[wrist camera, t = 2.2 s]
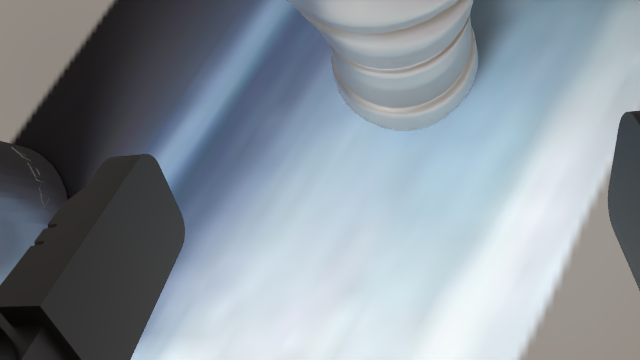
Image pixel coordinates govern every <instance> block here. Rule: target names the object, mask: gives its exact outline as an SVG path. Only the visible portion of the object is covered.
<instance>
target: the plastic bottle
mask: <svg viewBox="0 0 640 360" xmlns="http://www.w3.org/2000/svg"><path fill="white" fill-rule="evenodd" d="M287 1H288V2H289V3H290V4H291V5H292V6H293V7H294V8H295V9H297V10H298V11H299V12H300V13H301V14H302V15H303V16H304V17H305V18H306V19H307V20H308V21H310V22H311V23H312V24H313V25H314V26H315V27H316V28H317V29H318V30H319V32H320V33H321V35H322V36H323V37H324V39H325V40H326V42H327V43H328V44H329V47H330V50H331V53H332V56H331V60H332V67H333V73H334V78H335V82H336V85H337V88H338V90H339V93H340V94H341V96H342V98H343V99H344V101H345V102H346V104H347V105H348V106H349V107H350V108H351V109H352V110H353V111H354V112H355V113H356V114H358V115H359V116H360V117H362V118H363V119H365V120H366V121H369V122H371V123H373V124H376V125H378V126H380V127H383V128H386V129H391V130H396V131H411V130H417V129H422V128H425V127H428V126H431V125H434V124H435V123H437V122H439V121H441V120H442V119H444V118H446V117H447V116H448V115H449V114H450V113H451V112H453V111H454V110H455V109H456V108H457V107H458V106H459V105H460V104H461V103H462V101H463V100H464V99H465V97H466V96H467V95H468V93H469V91H470V89H471V87H472V85H473V83H474V81H475V77H476V73H477V69H478V51H477V45H476V40H475V35H474V31H473V28H472V26H471V17H470V12H471V8H472V5H473V1H474V0H287Z"/></svg>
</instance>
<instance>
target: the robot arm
mask: <svg viewBox="0 0 640 360" xmlns="http://www.w3.org/2000/svg"><path fill="white" fill-rule="evenodd" d="M608 209H609V216H610V221H611V224H612V227H613V230H614V232H615V234H616V237H617V239H618V241H619V244H620V246H621V248H622V251H623V253H624V255H625V257H626V260H627V262H628V264H629V267H630V269H631V271H632V274H633V276H634V278H635V281H636V283H637V285H638V288H639V290H640V111H632V112H626V113H624V115H623V116H622V118H621V120H620V124H619V129H618V135H617V141H616V147H615V153H614V159H613V165H612V171H611V177H610V183H609V190H608ZM184 236H185V227H184V220H183V217H182V214H181V212H180V210H179V207H178V205H177V203H176V201H175V199H174V197H173V194H172V192H171V190H170V188H169V186H168V183H167V181H166V179H165V177H164V175H163V172H162V170H161V168H160V166H159V164H158V162H157V161H156V159H155V158H154V157H153V156H151V155H149V154H142V155H131V156H120V157H111V158H108V159H107V160H106V161H105V162H104V163H103V164H102V165H101V167H100V168H99V169H98V171H97V172H96V173H95V175H94V176H93V177H92V179H91V180H90V181H89V183H88V184H87V185H86V186H85V187H84V188H83V189H81V190H80V191H79V192H78V193H76V194H75V195H74V196H73V197H71V198H70V199H69V200H68V199H67V193H66V190H65V187H64V185H63V182H62V180H61V177H60V176H59V174H58V173H57V171H56V170H55V168H54V167H53V165H52V164H51V163H50V162H49V161H48V160H46V159H45V158H44V157H43V156H42V155H40V154H39V153H37V152H35V151H33V150H32V149H29V148H26V147H22V146H18V145H14V144H10V143H6V142H2V141H0V360H130V359H131V357H132V355H133V353H134V350H135V348H136V346H137V344H138V342H139V340H140V337H141V335H142V333H143V331H144V329H145V327H146V324H147V322H148V320H149V318H150V316H151V314H152V311H153V309H154V307H155V305H156V303H157V301H158V298H159V296H160V294H161V292H162V290H163V288H164V285H165V283H166V281H167V279H168V277H169V275H170V272H171V270H172V268H173V266H174V264H175V262H176V259H177V257H178V255H179V253H180V251H181V249H182V246H183V243H184Z"/></svg>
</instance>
